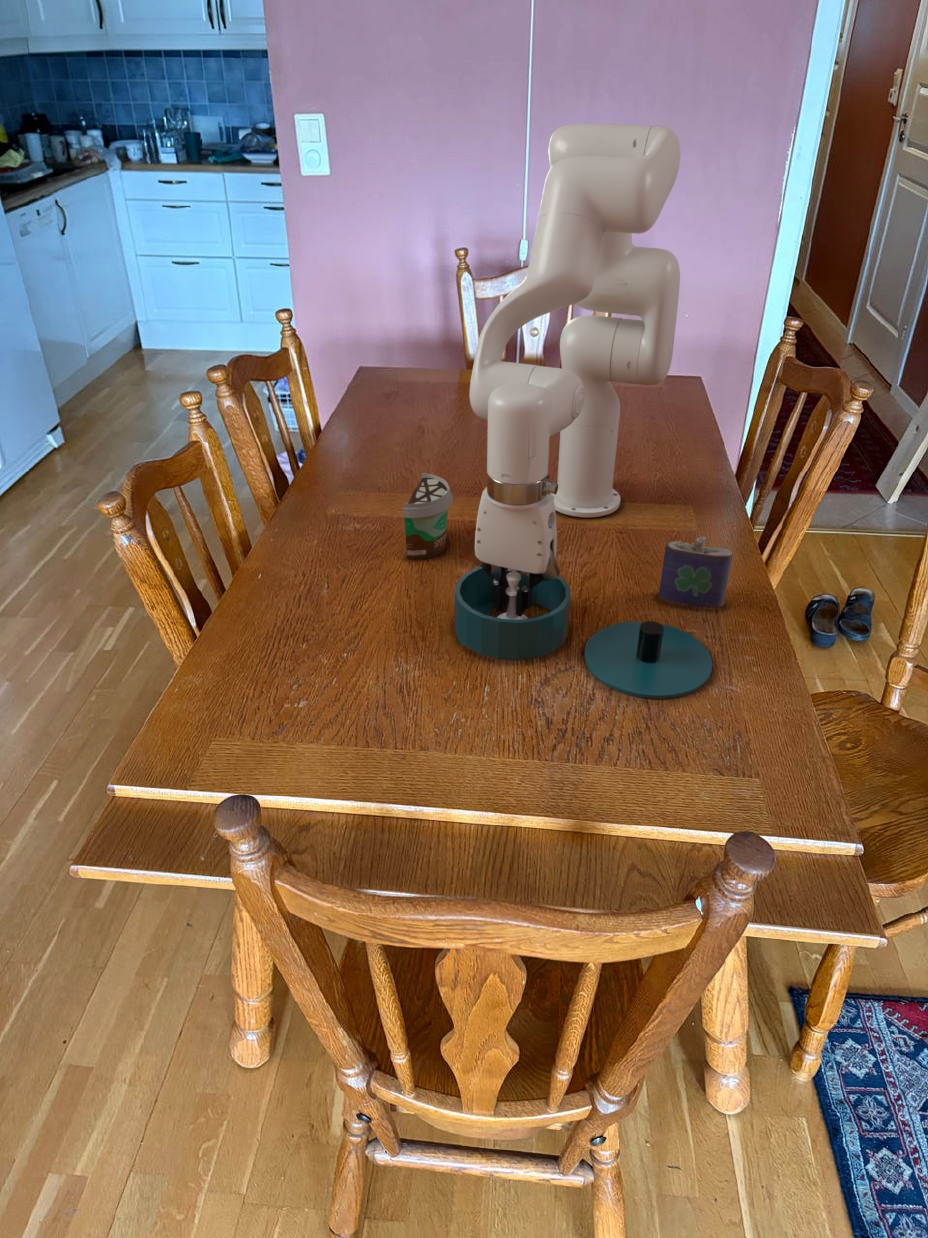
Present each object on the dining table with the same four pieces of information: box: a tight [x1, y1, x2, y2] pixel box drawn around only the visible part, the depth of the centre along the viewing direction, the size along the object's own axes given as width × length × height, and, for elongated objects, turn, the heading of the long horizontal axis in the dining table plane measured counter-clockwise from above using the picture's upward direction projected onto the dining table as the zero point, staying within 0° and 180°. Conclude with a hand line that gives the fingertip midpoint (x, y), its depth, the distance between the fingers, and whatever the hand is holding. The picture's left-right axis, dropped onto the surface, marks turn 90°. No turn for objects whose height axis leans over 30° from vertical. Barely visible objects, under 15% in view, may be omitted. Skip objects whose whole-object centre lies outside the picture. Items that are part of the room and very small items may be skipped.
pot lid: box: [583, 620, 713, 700], centre depth 118 cm, size 16×16×6 cm
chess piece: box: [496, 568, 529, 620], centre depth 123 cm, size 5×5×10 cm
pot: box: [454, 566, 572, 661], centre depth 124 cm, size 15×15×6 cm
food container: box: [402, 472, 454, 561], centre depth 143 cm, size 12×6×10 cm, turn 168°
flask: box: [658, 535, 733, 608], centre depth 129 cm, size 9×3×11 cm, turn 74°
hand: (512, 607), depth 124 cm, fingers closed on chess piece
